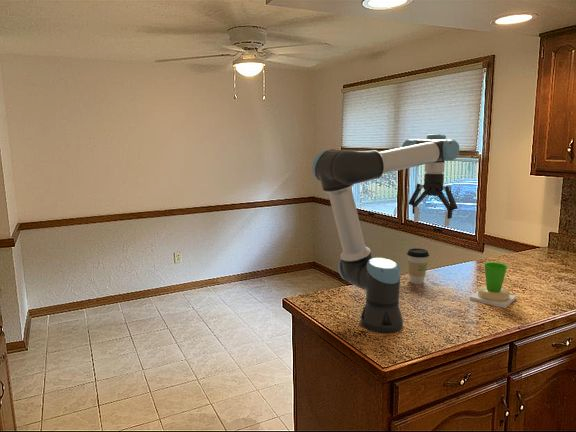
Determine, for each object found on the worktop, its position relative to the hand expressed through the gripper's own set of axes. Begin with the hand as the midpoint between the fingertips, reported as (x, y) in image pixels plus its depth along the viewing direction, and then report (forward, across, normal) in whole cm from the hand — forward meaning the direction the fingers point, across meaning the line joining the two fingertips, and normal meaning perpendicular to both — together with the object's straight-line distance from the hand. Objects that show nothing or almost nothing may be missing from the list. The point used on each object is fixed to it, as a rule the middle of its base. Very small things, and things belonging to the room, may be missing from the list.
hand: (431, 224), depth 184 cm
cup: (+28, -22, -15) cm, 38 cm away
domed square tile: (+31, -22, -15) cm, 41 cm away
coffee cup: (+31, +12, -14) cm, 36 cm away
